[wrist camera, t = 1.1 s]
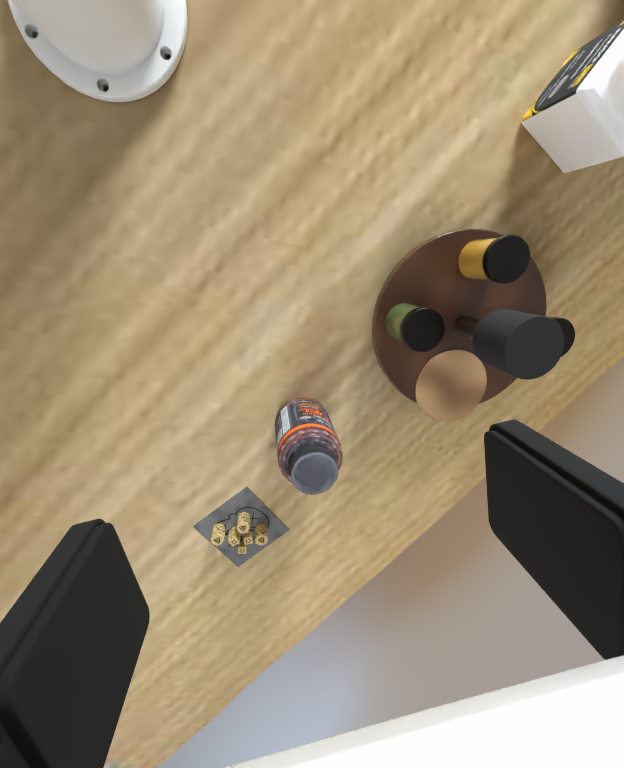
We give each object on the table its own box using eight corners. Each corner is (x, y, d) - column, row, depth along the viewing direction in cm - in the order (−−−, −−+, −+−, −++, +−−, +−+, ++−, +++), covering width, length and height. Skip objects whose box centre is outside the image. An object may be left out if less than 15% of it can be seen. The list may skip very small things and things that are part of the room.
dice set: (209, 528, 45) (207, 539, 43) (243, 503, 44) (243, 513, 43) (237, 554, 46) (237, 566, 45) (270, 530, 46) (271, 541, 44)
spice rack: (385, 220, 35) (443, 201, 24) (558, 239, 38) (682, 230, 27) (360, 413, 41) (397, 470, 30) (512, 418, 44) (598, 471, 33)
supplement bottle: (335, 403, 42) (361, 452, 31) (317, 450, 44) (336, 512, 33) (283, 389, 41) (293, 434, 30) (267, 438, 42) (270, 498, 32)
